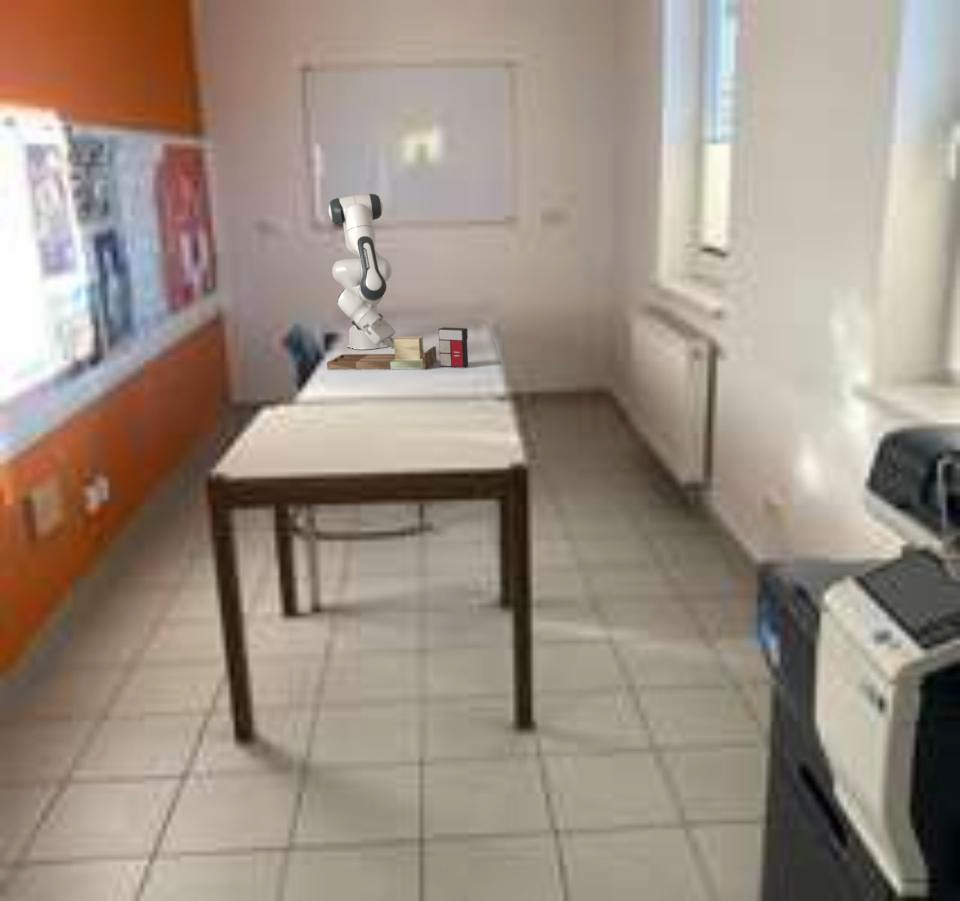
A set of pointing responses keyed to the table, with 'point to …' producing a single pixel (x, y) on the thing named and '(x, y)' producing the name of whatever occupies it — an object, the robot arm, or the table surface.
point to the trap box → (381, 361)
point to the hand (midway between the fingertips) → (395, 347)
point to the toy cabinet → (453, 347)
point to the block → (408, 348)
